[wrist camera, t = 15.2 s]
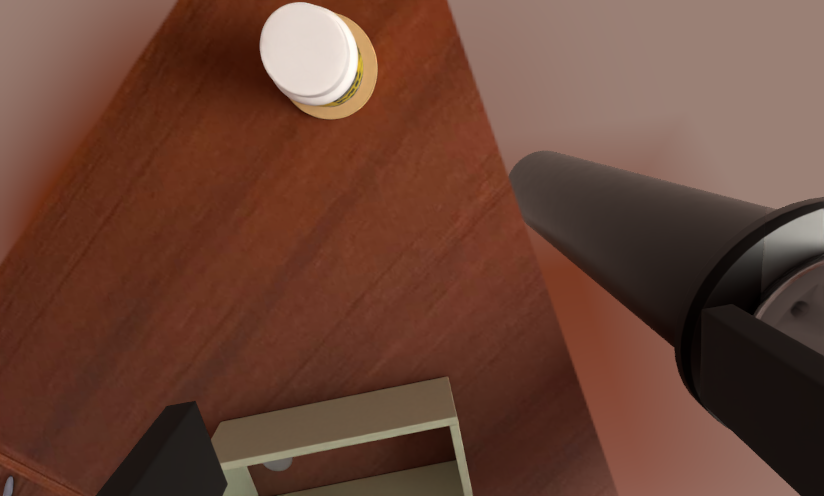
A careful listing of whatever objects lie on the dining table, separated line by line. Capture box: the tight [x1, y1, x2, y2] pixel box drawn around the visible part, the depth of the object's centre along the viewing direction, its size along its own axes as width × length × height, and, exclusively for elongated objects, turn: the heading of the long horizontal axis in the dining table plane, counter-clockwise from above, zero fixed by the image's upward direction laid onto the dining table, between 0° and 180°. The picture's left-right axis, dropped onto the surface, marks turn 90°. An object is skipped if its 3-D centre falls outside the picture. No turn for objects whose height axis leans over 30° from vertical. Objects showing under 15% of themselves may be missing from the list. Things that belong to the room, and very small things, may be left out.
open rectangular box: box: [211, 376, 473, 496], centre depth 35 cm, size 19×9×5 cm, turn 101°
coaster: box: [289, 13, 378, 119], centre depth 28 cm, size 6×6×1 cm
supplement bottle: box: [260, 2, 363, 107], centre depth 24 cm, size 5×5×8 cm
